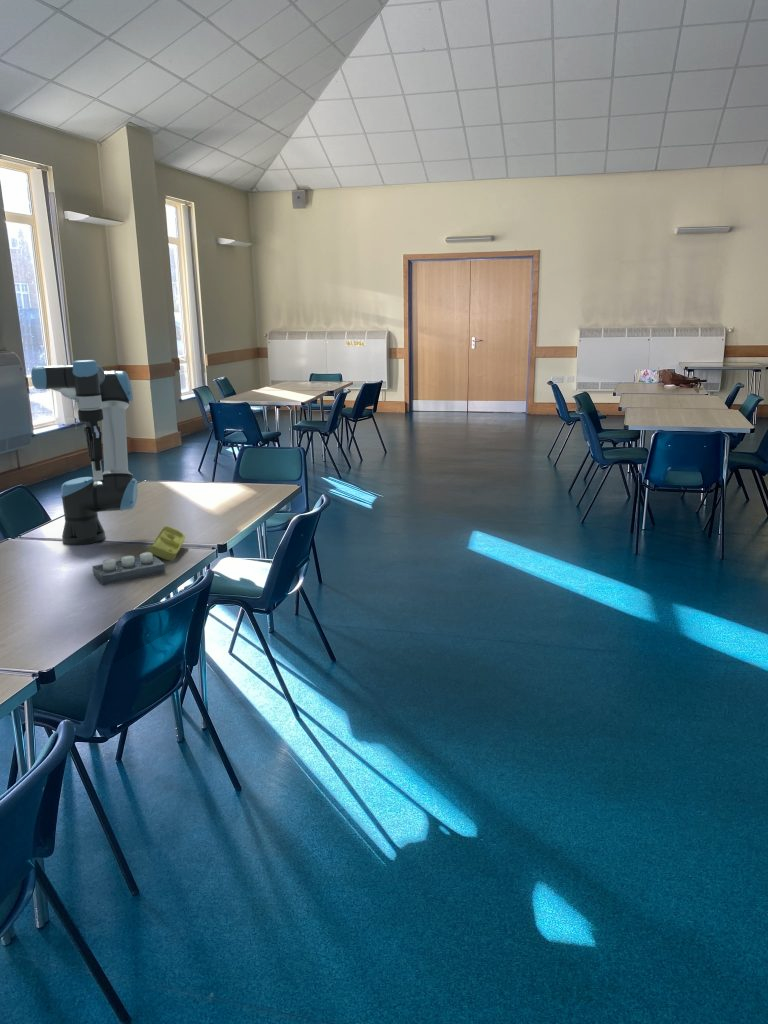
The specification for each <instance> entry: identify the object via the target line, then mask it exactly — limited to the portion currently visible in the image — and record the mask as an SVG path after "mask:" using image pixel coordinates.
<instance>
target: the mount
mask: <svg viewBox="0 0 768 1024" xmlns="http://www.w3.org/2000/svg"><path fill="white" fill-rule="evenodd" d="M152 555H153V554H152ZM134 561H135V565H134V566H131V567H123V566H122V561H121V560H118V561H116V569H114V570H110V571H105V570H103V564H102V563H101V564H96V565H92V574H93V576H94V577H95V578H96V580H98V581H99V582H100V584H101V585H102V586H106V585H111V584H115V583H120V582H121V583H122V582H127V581H130V580H136V579H141V578H145V577H150V576H156V575H159V574H164V573H166V568H165V567H166V566H165V563H164V562H163V561H161V560H160V559H159V558H158V556H156V555H153V562H151V563H141V562H140V556H138V557H134Z"/></svg>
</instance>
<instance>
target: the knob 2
mask: <svg viewBox="0 0 768 1024" xmlns="http://www.w3.org/2000/svg"><path fill="white" fill-rule="evenodd" d="M139 557H140V562H141V563H151V562H153V554H152V553H150V552H147V551H146V552H141V553H140V554H139Z"/></svg>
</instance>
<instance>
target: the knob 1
mask: <svg viewBox="0 0 768 1024" xmlns="http://www.w3.org/2000/svg"><path fill="white" fill-rule="evenodd" d="M116 562H117V561H116V560H115V559H113V558H112V559H111V558H110V559H105V560H103V561H102V563H101V564H103V570H105V571H110V570H114V569H116Z"/></svg>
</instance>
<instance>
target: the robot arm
mask: <svg viewBox="0 0 768 1024" xmlns="http://www.w3.org/2000/svg"><path fill="white" fill-rule="evenodd" d="M30 377H31V382H32V386H33V387H34V389H36V390H53V391H55V392H58V393H60V394H61V395H62V396H63V397H65V398H67V399H70V400H74V402H75V403H76V405H77V407H76V408H77V409H78V410H77V415H78V421H79V422H80V423H85V426H84V429H83V431H84V435H85V440H86V444H87V445H86V446H87V452H88V457H89V458H90V460H89V461H90V463H91V471H92V476H84V477H82V476H81V477H76V478H74V479H70V480H67V481H65V482H64V483H63V484H61V489H60V492H61V495H60V497H61V499H62V500H61V501H62V506H63V516H64V526H63V530H62V535H61V537H62V539H61V540H62V543H63V544H65V545H69V546H78V545H79V546H81V545H88V544H89V545H90V544H94V543H96V542H97V543H98V542H100V541H102V540H104V539H105V538H106V531H105V530H104V527H103V525H102V523H101V521H100V519H99V514H98V512H100V513H101V512H116V511H121V512H122V511H127V510H133V509H134V508H135V507H136V504H137V501H138V491H139V490H138V479H136V478H134V477H133V473H131V472H130V471H129V463H128V462H129V461H128V457H129V456H128V441H127V440H128V438H127V423H126V422H127V421H126V410H127V409H128V408H129V407H130V402H132V401H134V395H133V388H132V384H131V381H130V378H129V377H130V376H129V375H128V373H127V372H126V371H124V370H104V369H103V368H102V367H101V366H100V365H98V362H97V361H96V360H94V359H83V360H81V359H80V360H79V359H78V360H73V362H72V365H71V364H69V365H39V366H38V365H37V366H33V367H32V369H31V376H30ZM98 422H101V425H102V427H101V428H102V429H101V428H100V426H99V423H98ZM101 430H102V431H101ZM102 447H103V448H102ZM102 460H103V468H102Z"/></svg>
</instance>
